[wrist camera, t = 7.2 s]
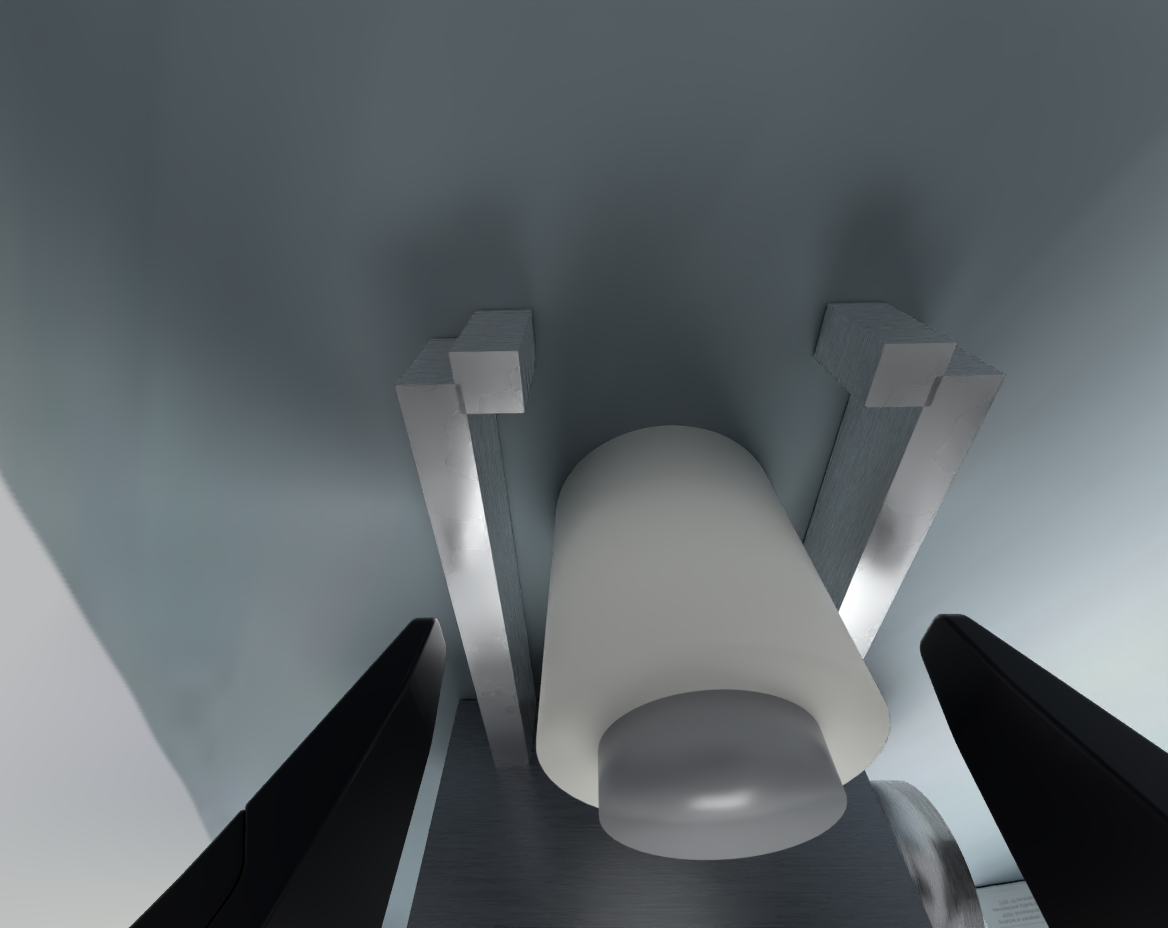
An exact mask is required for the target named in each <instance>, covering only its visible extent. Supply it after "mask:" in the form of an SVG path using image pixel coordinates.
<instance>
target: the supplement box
mask: <svg viewBox="0 0 1168 928" xmlns="http://www.w3.org/2000/svg"><path fill="white" fill-rule="evenodd" d="M976 892H977V895H978V898H979V903H980V907H981V911H982V915H983V917H984V919H985V921H986V923H987V925H988V927H989V928H1049V927H1048V925H1047V923H1046V921H1045V919H1044V917H1043V915H1042V913H1041V911H1040V909H1039V907H1038V905H1037V903H1036V901H1035V899H1034V897H1033V895H1032V893H1031V892H1030V890H1029V888H1028V886H1027V884H1026V882H1025V881H1021V882H1015V883H1009V884H1003V885H995V886H989V887H983V888H977V889H976Z"/></svg>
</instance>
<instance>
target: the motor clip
mask: <svg viewBox="0 0 1168 928" xmlns="http://www.w3.org/2000/svg"><path fill="white" fill-rule="evenodd" d="M956 345H957V342H955V341H953V340H952V339H950V338H948V337H946V336H945V335H943V334H941V333H939V332H937V331H936V330H934V329H932V328H930V327H929V326H927V325H925V324H923V323H921V322H920V321H918V320H916V319H914V318H913V317H911V316H909V315H907V314H905V313H904V312H902V311H900V310H898V309H897V308H895V307H893V306H891V305H889V304H888V303H886V302H871V303H828V304H827V308H826V312H825V316H824V320H823V324H822V327H821V331H820V335H819V339H818V343H817V347H816V351H815V355H814V358H815V359H816V360H817V361H818V362H819V363H820V364H821V365H822V366H823V367H824V368H825V369H826V370H827V371H828V372H829V373H830V374H831V375H832V376H833V377H834V378H835V379H836V380H837V381H838V382H839V383H840V384H841V385H842V386H843V387H844V388H845V389H846V390H847V391H848V392H849V393H850V394H851V395H850V398H849V401H848V404H847V407H846V411H845V414H844V417H843V420H842V423H841V426H840V430H839V433H838V436H837V439H836V442H835V445H834V449H833V452H832V455H831V458H830V461H829V465H828V468H827V471H826V474H825V477H824V480H823V484H822V487H821V490H820V493H819V496H818V499H817V503H816V506H815V509H814V512H813V515H812V518H811V522H810V525H809V528H808V531H807V534H806V538H805V541H804V544H803V546H804V548H805V550H806V552H807V553H808V555H809V557H810V559H811V561H812V563H813V565H814V567H815V569H816V571H817V573H818V574H819V576H820V578H821V580H822V582H823V584H824V586H825V588H826V590H827V592H828V594H829V595H830V597H831V599H832V601H833V603H834V605H835V607H836V609H837V611H838V613H839V615H840V616H841V618H842V620H843V622H844V624H845V626H846V628H847V630H848V632H849V634H850V636H851V637H852V639H853V641H854V643H855V645H856V647H857V649H858V651H859V653H860V655H861V656H862V658H863V659H864V657H865V655H866V653H867V651H868V649H869V647H870V645H871V643H872V641H873V639H874V637H875V635H876V633H877V631H878V629H879V627H880V625H881V623H882V621H883V619H884V617H885V615H886V613H887V611H888V609H889V607H890V605H891V603H892V601H893V599H894V597H895V595H896V593H897V591H898V589H899V587H900V585H901V583H902V581H903V579H904V577H905V575H906V573H907V571H908V569H909V567H910V565H911V563H912V561H913V559H914V557H915V555H916V553H917V551H918V549H919V547H920V545H921V543H922V541H923V539H924V537H925V535H926V533H927V531H928V529H929V527H930V525H931V523H932V521H933V519H934V517H935V515H936V513H937V511H938V509H939V507H940V505H941V503H942V501H943V499H944V497H945V495H946V493H947V491H948V489H949V487H950V485H951V483H952V481H953V479H954V477H955V475H956V473H957V471H958V469H959V467H960V465H961V463H962V461H963V459H964V457H965V455H966V453H967V451H968V449H969V447H970V445H971V443H972V441H973V439H974V437H975V435H976V433H977V431H978V429H979V427H980V425H981V423H982V421H983V419H984V417H985V415H986V413H987V411H988V409H989V407H990V405H991V403H992V401H993V399H994V397H995V395H996V393H997V391H998V389H999V387H1000V385H1001V383H1002V381H1003V379H1004V377H1005V375H1006V374H1004V373H1002V372H1000V371H999V370H997V369H995V368H993V367H992V366H990V365H988V364H986V363H985V362H983V361H981V360H979V359H978V358H976V357H974V356H972V355H971V354H969V353H967V352H965V351H964V350H962V349H960V348H959V347H957V346H956ZM535 365H536V356H535V344H534V332H533V319H532V309H528V310H479V311H475V312H474V314H473V315H472V317H471V318H470V320H469V321H468V323H467V325H466V326H465V328H464V329H463V331H462V332H461V334H460V335H459V337H458V338H451V339H430V341H429V342H428V343H427V345H426V346H425V347H424V348H423V350H422V351H421V352H420V354H419V355H418V356H417V357H416V359H415V360H414V361H413V363H412V364H411V365H410V366H409V368H408V369H407V370H406V372H405V373H404V374H403V375H402V377H401V378H400V379H399V381H398V382H397V383H396V384H395V388H396V392H397V395H398V399H399V403H400V407H401V411H402V414H403V418H404V422H405V426H406V430H407V433H408V437H409V441H410V445H411V449H412V452H413V456H414V460H415V464H416V468H417V471H418V475H419V479H420V483H421V486H422V490H423V494H424V498H425V502H426V505H427V509H428V513H429V517H430V521H431V524H432V528H433V532H434V536H435V540H436V543H437V547H438V551H439V555H440V559H441V562H442V566H443V570H444V574H445V578H446V581H447V585H448V589H449V593H450V597H451V600H452V604H453V608H454V612H455V616H456V619H457V623H458V627H459V631H460V635H461V638H462V642H463V646H464V650H465V653H466V657H467V661H468V665H469V669H470V672H471V676H472V680H473V684H474V688H475V691H476V695H477V699H478V700H459V703H458V707H457V712H456V716H455V720H454V725H453V729H452V733H451V738H450V742H449V746H448V751H447V755H446V759H445V764H444V768H443V772H442V777H441V781H440V785H439V790H438V794H437V799H436V803H435V807H434V812H433V816H432V820H431V825H430V829H429V833H428V838H427V842H426V846H425V851H424V855H423V859H422V864H421V868H420V872H419V877H418V881H417V885H416V890H415V894H414V899H413V903H412V907H411V912H410V916H409V920H408V925H407V928H985V927H984V921H983V915H982V911H981V907H980V903H979V898H978V895H977V892H976V889H975V885H974V882H973V880H972V877H971V874H970V871H969V869H968V866H967V864H966V862H965V859H964V857H963V855H962V853H961V851H960V848H959V846H958V844H957V842H956V840H955V839H954V837H953V835H952V833H951V831H950V830H949V828H948V826H947V825H946V823H945V821H944V820H943V818H942V817H941V815H940V814H939V813H938V811H937V810H936V808H935V807H934V806H933V805H932V803H931V802H930V801H929V800H928V799H927V798H926V797H925V796H924V795H923V794H922V793H921V792H920V791H919V790H918V789H916V788H915V787H914V786H912V785H911V784H909V783H907V782H904V781H869V779H868V777H867V775H866V772H865V770H864V771H862V772H861V773H860V774H859V775H857V776H856V777H855V778H853V779H852V780H850V781H849V782H847V783H846V784H844V785H843V788H844V790H845V793H846V795H847V806H846V810H845V811H844V813H843V815H842V817H841V818H840V819H839V820H838V821H837V823H835V824H834V825H833V826H832V827H831V828H829V829H828V830H826V831H825V832H823V833H822V834H820V835H818V836H816V837H815V838H813V839H811V840H808V841H806V842H804V843H801V844H799V845H796V846H793V847H790V848H787V849H784V850H780V851H776V852H772V853H768V854H763V855H758V856H751V857H745V858H736V859H723V860H689V859H677V858H669V857H663V856H657V855H652V854H649V853H645V852H641V851H638V850H635V849H633V848H630V847H628V846H626V845H623V844H621V843H620V842H618V841H616V840H615V839H613V838H612V837H611V836H610V835H608V834H607V833H606V831H605V830H604V829H603V828H602V825H601V823H600V820H599V808H597V807H594V806H592V805H589V804H587V803H585V802H583V801H581V800H579V799H577V798H574V797H573V796H571V795H570V794H568V793H567V792H565V791H563V790H562V789H561V788H560V787H558V786H557V785H556V784H555V783H554V782H553V781H552V780H551V779H550V778H549V777H548V776H547V774H546V773H545V772H544V770H543V768H542V766H541V765H540V763H539V760H538V756H537V752H536V736H537V724H538V713H539V701H540V700H536V695H535V688H534V681H533V674H532V667H531V660H530V653H529V646H528V639H527V631H526V624H525V617H524V610H523V603H522V596H521V589H520V582H519V575H518V568H517V561H516V554H515V546H514V539H513V532H512V525H511V518H510V511H509V504H508V497H507V490H506V483H505V476H504V469H503V462H502V454H501V447H500V440H499V433H498V426H497V419H496V413H524V412H525V408H526V404H527V400H528V395H529V391H530V387H531V382H532V378H533V374H534V369H535Z"/></svg>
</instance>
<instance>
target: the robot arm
mask: <svg viewBox="0 0 1168 928" xmlns="http://www.w3.org/2000/svg"><path fill="white" fill-rule="evenodd" d="M920 652H921V656H922V659H923V662H924V664H925V667H926V669H927V672H928V674H929V677H930V679H931V682H932V685H933V687H934V690H935V692H936V695H937V697H938V700H939V703H940V705H941V708H942V710H943V713H944V715H945V718H946V720H947V723H948V726H949V728H950V730H951V733H952V735H953V737H954V740H955V742H956V744H957V746H958V748H959V750H960V753H961V755H962V757H963V759H964V761H965V763H966V765H967V767H968V769H969V771H970V773H971V775H972V777H973V778H974V780H975V782H976V784H977V786H978V788H979V790H980V792H981V794H982V796H983V798H984V800H985V802H986V804H987V806H988V808H989V810H990V812H991V814H992V816H993V818H994V820H995V822H996V824H997V826H998V828H999V830H1000V832H1001V834H1002V836H1003V838H1004V840H1005V842H1006V844H1007V846H1008V848H1009V850H1010V852H1011V854H1012V856H1013V858H1014V860H1015V862H1016V864H1017V866H1018V868H1019V870H1020V872H1021V874H1022V876H1023V878H1024V880H1025V882H1026V884H1027V886H1028V888H1029V890H1030V892H1031V893H1032V895H1033V897H1034V899H1035V901H1036V903H1037V905H1038V907H1039V909H1040V911H1041V913H1042V915H1043V917H1044V919H1045V921H1046V923H1047V925H1048V927H1049V928H1168V753H1167V752H1165V751H1164V750H1162V749H1161V748H1159V747H1158V746H1157V745H1155V744H1154V743H1152V742H1151V741H1149V740H1148V739H1146V738H1145V737H1143V736H1142V735H1140V734H1139V733H1138V732H1136V731H1135V730H1133V729H1132V728H1130V727H1129V726H1127V725H1126V724H1124V723H1123V722H1121V721H1120V720H1118V719H1117V718H1116V717H1114V716H1113V715H1111V714H1110V713H1108V712H1107V711H1105V710H1104V709H1102V708H1101V707H1099V706H1098V705H1097V704H1095V703H1094V702H1092V701H1091V700H1089V699H1088V698H1086V697H1085V696H1083V695H1082V694H1080V693H1079V692H1077V691H1076V690H1075V689H1073V688H1072V687H1070V686H1069V685H1067V684H1066V683H1064V682H1063V681H1061V680H1060V679H1058V678H1057V677H1055V676H1054V675H1053V674H1051V673H1050V672H1048V671H1047V670H1045V669H1044V668H1042V667H1041V666H1039V665H1038V664H1036V663H1035V662H1034V661H1032V660H1031V659H1029V658H1028V657H1026V656H1025V655H1023V654H1022V653H1020V652H1019V651H1017V650H1016V649H1014V648H1013V647H1012V646H1010V645H1009V644H1007V643H1006V642H1004V641H1003V640H1001V639H1000V638H998V637H997V636H995V635H994V634H993V633H991V632H990V631H988V630H987V629H985V628H984V627H982V626H981V625H979V624H978V623H976V622H975V621H973V620H972V619H970V618H969V617H967V616H965V615H962V614H939V615H937V616H936V617H935V618H934V619H933V621H932V623H931V624H930V626H929V628H928V629H927V631H926V633H925V635H924V636H923V638H922V640H921V642H920ZM445 659H446V644H445V641H444V637H443V634H442V631H441V627H440V624H439V621H438V620H437V619H436V618H415V619H414V620H412V621H411V622H410V623H409V624H408V625H407V626H406V627H405V629H404V630H403V631H402V632H401V633H400V634H399V635H398V636H397V638H396V639H395V640H394V641H393V642H392V643H391V644H390V645H389V646H388V648H387V649H386V650H385V651H384V652H383V653H382V654H381V655H380V656H379V658H378V659H377V660H376V661H375V662H374V663H373V664H372V665H371V666H370V668H369V669H368V670H367V671H366V672H365V673H364V674H363V675H362V676H361V678H360V679H359V680H358V681H357V682H356V683H355V684H354V685H353V686H352V688H351V689H350V690H349V691H348V692H347V693H346V694H345V695H344V696H343V698H342V699H341V700H340V701H339V702H338V703H337V704H336V705H335V706H334V708H333V709H332V710H331V711H330V712H329V713H328V714H327V715H326V716H325V718H324V719H323V720H322V721H321V722H320V723H319V724H318V725H317V726H316V728H315V729H314V730H313V731H312V732H311V733H310V734H309V735H308V736H307V738H306V739H305V740H304V741H303V742H302V743H301V744H300V745H299V746H298V748H297V749H296V750H295V751H294V752H293V753H292V754H291V755H290V757H289V758H288V759H287V760H286V761H285V762H284V763H283V764H282V765H281V767H280V768H279V769H278V770H277V771H276V772H275V773H274V774H273V775H272V777H271V778H270V779H269V780H268V781H267V782H266V783H265V784H264V785H263V787H262V788H261V789H260V790H259V791H258V792H257V793H256V794H255V795H254V797H253V798H252V799H251V800H250V801H249V802H248V803H247V804H246V807H245V810H241V811H240V812H239V813H238V814H237V815H236V816H235V817H234V819H233V820H232V821H231V822H230V823H229V824H228V825H227V826H226V827H225V829H224V830H223V831H222V832H221V833H220V834H219V835H218V836H217V837H216V838H215V840H214V841H213V842H212V843H211V844H210V845H209V846H208V847H207V848H206V849H205V850H204V851H203V852H202V853H201V855H200V856H199V857H198V858H197V859H196V860H195V861H194V862H193V863H192V864H191V865H190V866H189V868H188V869H187V870H186V871H185V872H184V873H183V874H182V875H181V876H180V877H179V878H178V879H177V880H176V881H175V882H174V883H173V884H172V885H171V886H170V887H169V888H168V889H167V890H166V891H165V892H164V893H163V894H162V895H161V896H160V897H159V898H158V899H157V900H156V901H155V902H154V903H153V904H152V905H151V906H150V907H149V909H147V910H146V911H145V912H144V914H143V915H141V916H140V917H139V918H138V919H137V920H136V921H135V922H134V924H132V925H131V926H130V927H129V928H381V927H382V924H383V920H384V916H385V913H386V909H387V905H388V902H389V898H390V894H391V891H392V887H393V883H394V880H395V876H396V872H397V869H398V865H399V861H400V858H401V854H402V850H403V847H404V843H405V839H406V836H407V832H408V828H409V825H410V821H411V818H412V814H413V810H414V807H415V803H416V799H417V796H418V792H419V788H420V785H421V781H422V777H423V774H424V770H425V766H426V763H427V759H428V755H429V751H430V747H431V743H432V738H433V732H434V727H435V721H436V714H437V708H438V702H439V696H440V690H441V684H442V678H443V672H444V665H445Z"/></svg>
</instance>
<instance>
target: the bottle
mask: <svg viewBox="0 0 1168 928" xmlns="http://www.w3.org/2000/svg"><path fill="white" fill-rule="evenodd" d="M889 731H890V714H889V711H888V707H887V704H886V702H885V700H884V698H883V697H882V695H881V693H880V691H879V689H878V687H877V685H876V683H875V681H874V679H873V677H872V676H871V674H870V672H869V670H868V668H867V666H866V664H865V662H864V660H863V658H862V656H861V655H860V653H859V651H858V649H857V647H856V645H855V643H854V641H853V639H852V637H851V636H850V634H849V632H848V630H847V628H846V626H845V624H844V622H843V620H842V618H841V616H840V615H839V613H838V611H837V609H836V607H835V605H834V603H833V601H832V599H831V597H830V595H829V594H828V592H827V590H826V588H825V586H824V584H823V582H822V580H821V578H820V576H819V574H818V573H817V571H816V569H815V567H814V565H813V563H812V561H811V559H810V557H809V555H808V553H807V552H806V550H805V548H804V546H803V544H802V542H801V540H800V538H799V536H798V534H797V533H796V531H795V529H794V527H793V525H792V523H791V521H790V519H789V517H788V515H787V513H786V512H785V510H784V508H783V506H782V504H781V502H780V500H779V498H778V496H777V494H776V492H775V491H774V489H773V487H772V485H771V483H770V481H769V479H768V477H767V475H766V473H765V472H764V470H763V468H762V467H761V465H760V463H759V462H758V461H757V460H756V459H755V457H754V456H753V455H752V454H751V453H750V452H749V451H747V450H746V449H745V448H744V447H743V446H741V445H740V444H738V443H737V442H735V441H733V440H732V439H730V438H728V437H726V436H723V435H721V434H719V433H716V432H713V431H710V430H706V429H703V428H697V427H691V426H679V425H666V426H654V427H648V428H643V429H638V430H635V431H632V432H628V433H625V434H623V435H620V436H618V437H615V438H613V439H611V440H609V441H607V442H606V443H604V444H602V445H600V446H598V447H597V448H596V449H594V450H593V451H592V452H590V453H589V454H588V455H586V456H585V457H584V458H583V459H582V460H581V461H580V462H579V463H578V464H577V465H576V466H575V468H574V469H573V470H572V471H571V473H570V474H569V475H568V477H567V479H566V481H565V482H564V484H563V486H562V488H561V491H560V494H559V496H558V501H557V506H556V516H555V527H554V539H553V550H552V562H551V574H550V585H549V597H548V608H547V620H546V632H545V643H544V655H543V666H542V678H541V690H540V701H539V713H538V724H537V736H536V752H537V756H538V760H539V763H540V765H541V766H542V768H543V770H544V772H545V773H546V774H547V776H548V777H549V778H550V779H551V780H552V781H553V782H554V783H555V784H556V785H557V786H558V787H560V788H561V789H562V790H563V791H565V792H567V793H568V794H570V795H571V796H573V797H574V798H577V799H579V800H581V801H583V802H585V803H587V804H589V805H592V806H594V807H597V808H599V820H600V823H601V825H602V828H603V829H604V830H605V831H606V833H607V834H608V835H610V836H611V837H612V838H613V839H615V840H616V841H618V842H620V843H621V844H623V845H626V846H628V847H630V848H633V849H635V850H638V851H641V852H645V853H649V854H652V855H657V856H663V857H669V858H677V859H689V860H723V859H736V858H745V857H751V856H758V855H763V854H768V853H772V852H776V851H780V850H784V849H787V848H790V847H793V846H796V845H799V844H801V843H804V842H806V841H808V840H811V839H813V838H815V837H816V836H818V835H820V834H822V833H823V832H825V831H826V830H828V829H829V828H831V827H832V826H833V825H834V824H835V823H837V821H838V820H839V819H840V818H841V817H842V815H843V813H844V811H845V810H846V806H847V795H846V793H845V790H844V788H843V785H844V784H846V783H847V782H849V781H850V780H852V779H853V778H855V777H856V776H857V775H859V774H860V773H861V772H862V771H864V770H865V769H866V768H867V767H868V766H869V765H870V764H871V763H872V762H873V761H874V760H875V758H876V757H877V756H878V755H879V753H880V752H881V750H882V749H883V747H884V745H885V743H886V741H887V738H888V735H889Z"/></svg>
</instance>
